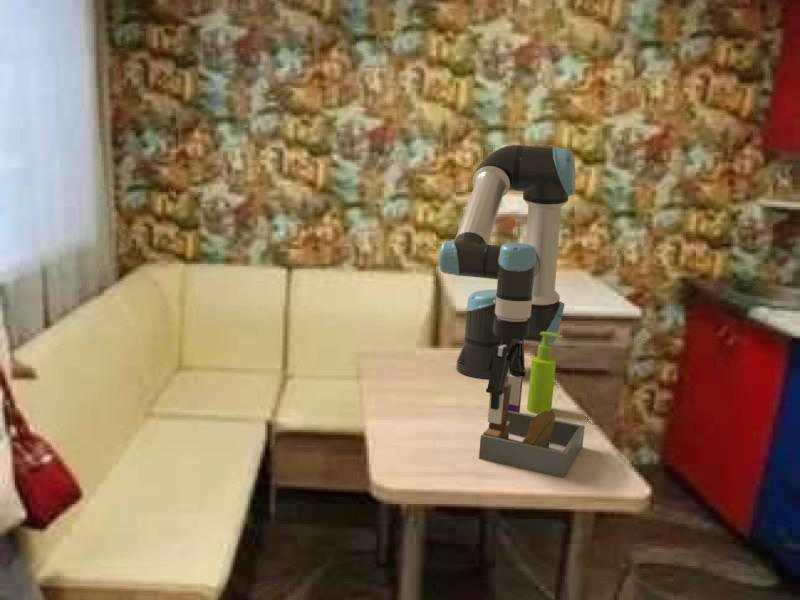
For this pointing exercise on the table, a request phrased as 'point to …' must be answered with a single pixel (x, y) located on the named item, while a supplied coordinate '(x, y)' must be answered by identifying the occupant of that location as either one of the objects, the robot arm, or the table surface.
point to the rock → (540, 429)
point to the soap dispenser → (542, 376)
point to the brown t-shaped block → (504, 427)
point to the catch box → (534, 447)
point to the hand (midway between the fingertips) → (503, 413)
